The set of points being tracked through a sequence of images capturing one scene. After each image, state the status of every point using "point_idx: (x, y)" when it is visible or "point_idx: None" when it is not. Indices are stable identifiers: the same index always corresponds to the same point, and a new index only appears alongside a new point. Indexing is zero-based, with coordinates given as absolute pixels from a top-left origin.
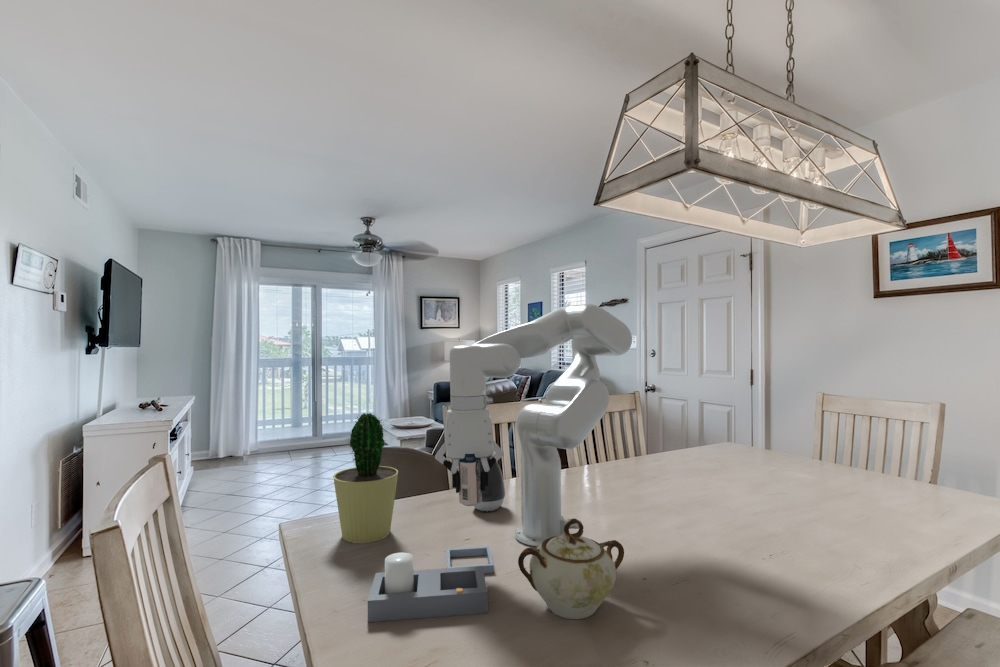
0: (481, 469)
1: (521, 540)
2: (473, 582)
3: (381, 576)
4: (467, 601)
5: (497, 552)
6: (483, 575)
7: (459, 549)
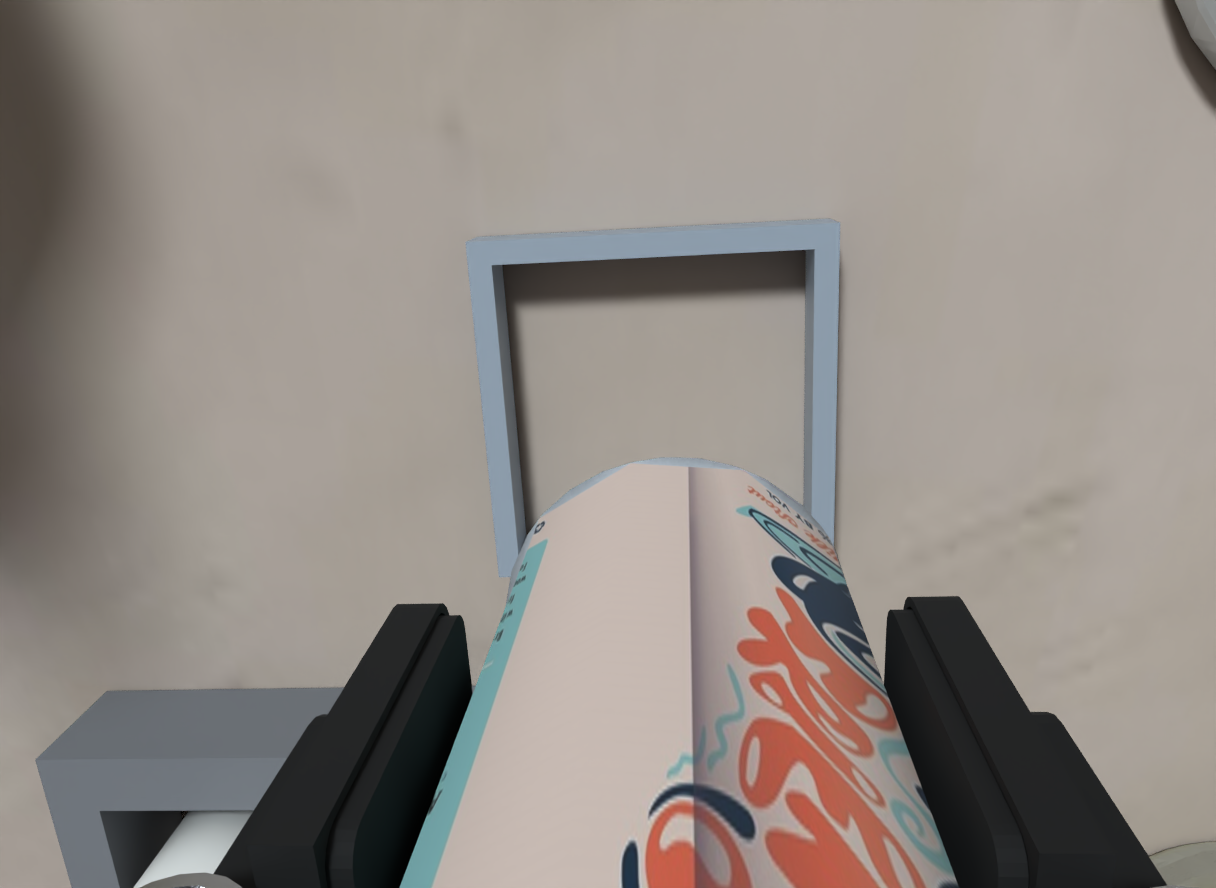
0: (1029, 882)
1: (1190, 13)
2: None
3: (90, 806)
4: None
5: (906, 201)
6: None
7: (575, 258)
